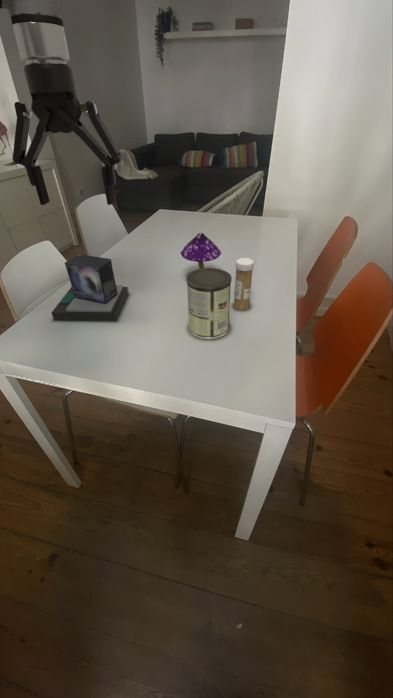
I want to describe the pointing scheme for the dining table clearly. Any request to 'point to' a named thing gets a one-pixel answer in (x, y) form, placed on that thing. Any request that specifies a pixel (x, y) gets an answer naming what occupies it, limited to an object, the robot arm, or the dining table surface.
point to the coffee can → (208, 302)
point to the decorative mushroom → (200, 250)
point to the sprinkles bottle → (243, 283)
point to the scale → (90, 307)
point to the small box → (92, 278)
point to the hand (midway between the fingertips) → (78, 203)
